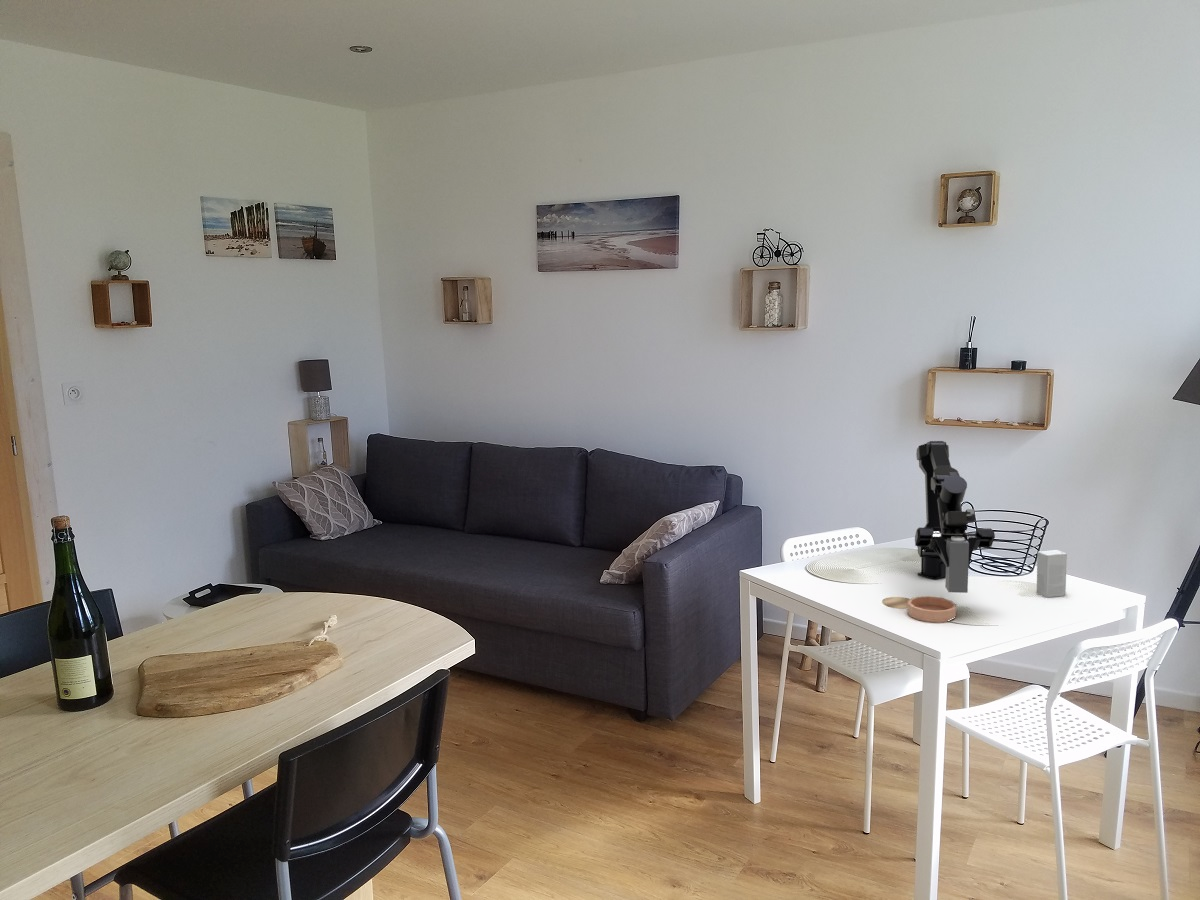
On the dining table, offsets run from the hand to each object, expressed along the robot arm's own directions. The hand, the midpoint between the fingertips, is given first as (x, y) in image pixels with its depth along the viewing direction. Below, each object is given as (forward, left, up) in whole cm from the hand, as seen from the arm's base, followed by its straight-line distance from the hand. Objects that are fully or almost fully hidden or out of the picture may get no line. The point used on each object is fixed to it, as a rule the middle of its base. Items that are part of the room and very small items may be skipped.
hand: (957, 566), depth 218 cm
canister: (-1, +1, -7) cm, 7 cm away
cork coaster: (-16, -2, -14) cm, 21 cm away
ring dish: (-5, -3, -13) cm, 15 cm away
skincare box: (+4, +35, -14) cm, 37 cm away
